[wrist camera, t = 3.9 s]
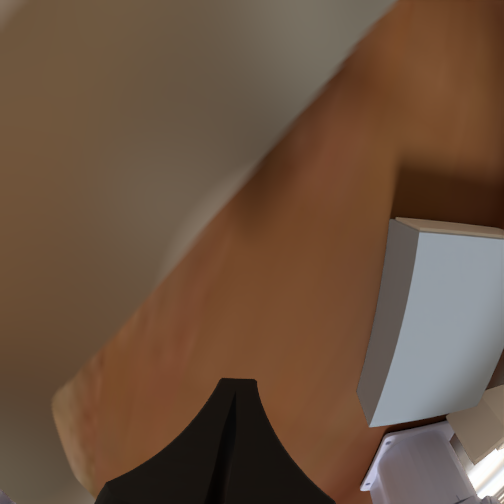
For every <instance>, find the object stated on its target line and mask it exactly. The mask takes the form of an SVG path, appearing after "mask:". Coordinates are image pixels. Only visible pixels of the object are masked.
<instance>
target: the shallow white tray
mask: <svg viewBox="0 0 504 504" xmlns="http://www.w3.org/2000/svg"><path fill="white" fill-rule="evenodd" d="M446 419H447V420H448V422H449V424H450V425H451V427H452V429H453V430H454V432H455V434H456V435H457V437H458V439H459V441H460V442H461V444H462V446H463V447H464V449H465V451H466V453H467V455H468V456H469V458H470V460H471V462H472V463H473V464H474V465H476V464H477V463H478V462H479V461H481V460H482V459H483V458H485V457H486V456H487V455H488V454H489V453H491V452H492V451H493V450H494V449H495V448H496V449H497V451H498V450H500V449H502V448H504V384H503V385H500V386H497V387H494V388H491V389H487V390H485V391H484V393H483V395H482V397H481V399H480V401H479V403H478V405H477V406H475V407H472V408H468V409H464V410H460V411H457V412H453V413H449V414H448V415H447V416H446Z"/></svg>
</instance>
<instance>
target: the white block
mask: <svg viewBox="0 0 504 504" xmlns="http://www.w3.org/2000/svg"><path fill="white" fill-rule="evenodd" d="M503 348H504V230H502V229H499V228H495V227H487V226H479V225H470V224H462V223H453V222H443V221H433V220H423V219H413V218H402V217H396V219H390V220H389V229H388V238H387V246H386V253H385V260H384V267H383V274H382V280H381V286H380V292H379V297H378V302H377V308H376V313H375V318H374V323H373V327H372V332H371V336H370V341H369V345H368V349H367V353H366V358H365V362H364V365H363V369H362V373H361V377H360V380H359V384H358V388H357V391H356V392H357V395H358V397H359V400H360V403H361V406H362V409H363V411H364V414H365V417H366V420H367V423H368V425H369V427H376V426H384V425H391V424H397V423H404V422H409V421H415V420H420V419H425V418H430V417H435V416H440V415H444V414H448V413H453V412H457V411H460V410H464V409H468V408H472V407H475V406H477V405H478V403H479V401H480V399H481V397H482V395H483V393H484V391H485V389H486V387H487V385H488V383H489V381H490V379H491V377H492V374H493V372H494V370H495V368H496V365H497V363H498V361H499V358H500V356H501V353H502V351H503Z"/></svg>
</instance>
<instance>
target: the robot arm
mask: <svg viewBox="0 0 504 504" xmlns="http://www.w3.org/2000/svg"><path fill="white" fill-rule="evenodd" d="M454 433H455V432H454V430H453V429H452V427H451V425H450V424H449V422H448V420H447V421H443V422H439V423H435V424H431V425H427V426H422V427H418V428H413V429H408V430H403V431H398V432H392V433H388V434H386V435H385V436H384V437H383V440H382V442H381V444H380V447H379V449H378V451H377V453H376V456H375V458H374V460H373V462H372V464H371V466H370V468H369V471H368V473H367V475H366V477H365V479H364V481H363V482H362V484H361V486H360V490H361V491H366V490H370V493H371V497H372V501H373V504H501V503H500V501H499V500H498V499H497V497H495V496H491V497H490V496H486V497H484V498H483V499H480V498H479V497H478V496H477V494H476V492H475V490H474V488H473V486H472V484H471V482H470V480H469V478H468V476H467V474H466V472H465V470H464V468H463V466H462V464H461V462H460V460H459V459H458V457H457V455H456V453H455V451H454V449H453V447H452V446H451V444H450V442H449V441H450V440H451V438H452V436H453V434H454ZM0 504H16V503H15V502H13V501H11V499H10V498H9V497H8V496H7V495H6V494H5V493H4V492H3V491H2V490H1V489H0ZM95 504H336V503H335V501H334V500H333V499H332V498H330V497H329V496H328V495H327V494H325V493H324V492H323V491H322V490H321V489H320V488H319V487H317V486H316V485H315V484H314V483H313V482H312V481H311V480H310V479H309V478H308V477H307V476H306V475H305V473H304V472H303V471H302V470H301V469H300V468H299V467H298V465H297V464H296V463H295V462H294V461H293V459H292V458H291V457H290V455H289V454H288V453H287V451H286V450H285V448H284V447H283V445H282V444H281V442H280V441H279V439H278V437H277V435H276V434H275V432H274V430H273V428H272V426H271V424H270V422H269V420H268V418H267V416H266V413H265V411H264V408H263V406H262V403H261V400H260V397H259V393H258V388H257V381H256V380H255V379H233V378H222V379H220V380H219V382H218V384H217V386H216V388H215V390H214V391H213V393H212V395H211V396H210V398H209V399H208V401H207V402H206V404H205V405H204V406H203V408H202V409H201V410H200V412H199V413H198V414H197V416H196V417H195V418H194V419H193V420H192V421H191V423H190V424H189V425H188V426H187V427H186V428H185V429H184V430H183V431H182V433H181V434H180V435H179V436H177V437H176V438H175V439H174V440H173V441H172V442H171V443H170V444H169V445H167V446H166V447H165V448H164V449H163V450H161V451H160V452H159V453H158V454H156V455H155V456H153V457H152V458H151V459H149V460H147V461H146V462H144V463H143V464H141V465H140V466H138V467H136V468H135V469H133V470H131V471H129V472H127V473H125V474H123V475H121V476H119V477H117V478H115V479H113V480H111V481H108V482H106V484H105V485H104V487H103V488H102V490H101V491H100V493H99V495H98V497H97V499H96V501H95Z"/></svg>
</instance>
